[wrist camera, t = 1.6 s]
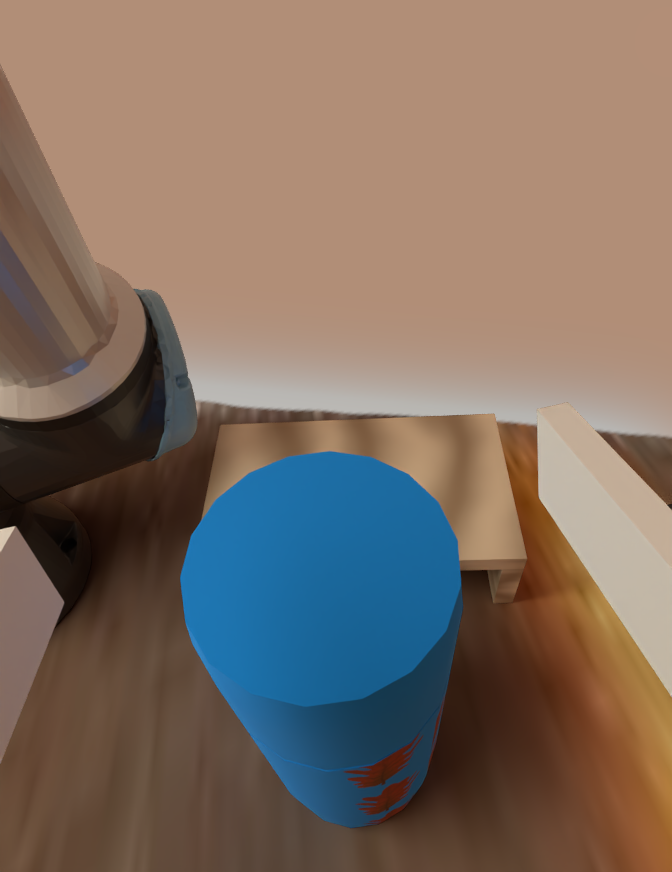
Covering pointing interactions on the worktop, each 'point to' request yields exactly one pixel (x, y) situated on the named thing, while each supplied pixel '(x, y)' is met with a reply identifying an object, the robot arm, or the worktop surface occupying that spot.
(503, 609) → the worktop surface
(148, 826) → the worktop surface
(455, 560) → the thermos
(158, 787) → the worktop surface
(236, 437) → the stool
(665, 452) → the worktop surface
